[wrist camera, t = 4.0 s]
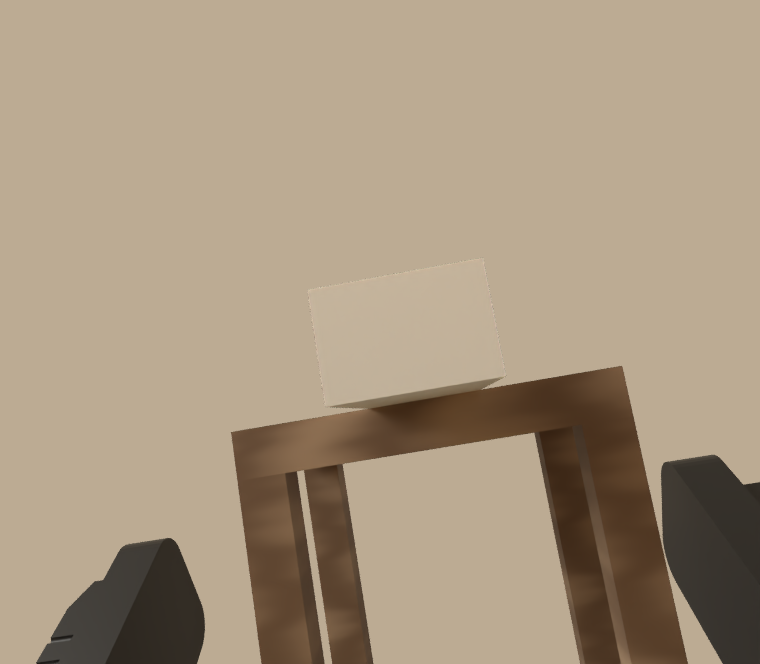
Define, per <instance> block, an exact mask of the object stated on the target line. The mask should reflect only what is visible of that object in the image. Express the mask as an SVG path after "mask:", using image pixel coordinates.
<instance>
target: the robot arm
mask: <svg viewBox="0 0 760 664" xmlns="http://www.w3.org/2000/svg"><path fill="white" fill-rule="evenodd" d="M661 486H662V524H663V525H662V526H663V544H664V549H665V554H666V558H667V561H668V564H669V567H670V570H671V572H672V575H673V576H674V579H675V581H676V583H677V584H678V586H679V588H680V590H681V591H682V593H683V595H684V597H685V598H686V600H687V602H688V604H689V605H690V607H691V609H692V611H693V612H694V614H695V616H696V618H697V619H698V621H699V623H700V625H701V626H702V628H703V630H704V632H705V633H706V635H707V637H708V639H709V640H710V642H711V644H712V646H713V647H714V649H715V651H716V652H717V654H718V656H719V658H720V659H721V661H722V663H723V664H760V482H759V483H752V484H746V485H743V484H742V483H741V482H740V480H739V479H738V478H737V477H736V476H735V475H734V474H733V472H732V471H731V470H730V469H729V468H728V467H727V466H726V464H725V463H724V462H723V461H722V460H721V459H720V458H719V457H718V456H716V455H708V456H702V457H695V458H689V459H683V460H677V461H670V462H665V463H664V464H663V466H662V470H661ZM204 632H205V620H204V613H203V608H202V604H201V602H200V599H199V597H198V594H197V592H196V589H195V587H194V584H193V582H192V579H191V577H190V574H189V572H188V569H187V567H186V564H185V562H184V559H183V557H182V554H181V552H180V549H179V547H178V545H177V544H176V542H175V541H174V540H173V539H171V538H166V539H159V540H153V541H147V542H140V543H134V544H128V545H125V546H123V547H122V548H121V549H120V551H119V552H118V554H117V556H116V558H115V560H114V561H113V563H112V565H111V567H110V569H109V571H108V573H107V575H106V576H105V578H104V580H102V581H95V582H94V583H93V584H92V585H91V586H90V587H89V588H88V589H87V590H86V591H85V592H84V593H83V594H82V595H81V596H80V597H79V598H78V599H77V600H76V601H75V602H74V603H73V604H72V605H71V606H70V607H69V608H68V609H67V611H66V613H65V614H64V616H63V618H62V619H61V621H60V623H59V625H58V626H57V628H56V630H55V631H54V633H53V635H52V637H51V643H50V644H47V645H46V647H45V649H44V650H43V652H42V654H41V656H40V657H39V659H38V661H37V662H36V663H37V664H197V662H198V658H199V655H200V652H201V649H202V645H203V640H204Z"/></svg>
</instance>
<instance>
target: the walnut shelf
mask: <svg viewBox="0 0 760 664" xmlns="http://www.w3.org/2000/svg"><path fill="white" fill-rule="evenodd" d="M528 433H535V437H536V443H537V447H538V453H539V457H540V463H541V468H542V473H543V478H544V483H545V488H546V493H547V498H548V503H549V508H550V513H551V518H552V523H553V529H554V533H555V539H556V544H557V548H558V553H559V559H560V564H561V568H562V574H563V579H564V584H565V589H566V594H567V599H568V604H569V609H570V614H571V619H572V624H573V629H574V635H575V639H576V645H577V649H578V655H579V660H580V664H688V662H687V658H686V653H685V648H684V644H683V639H682V635H681V630H680V626H679V621H678V617H677V612H676V608H675V603H674V599H673V594H672V589H671V585H670V580H669V576H668V571H667V567H666V562H665V559H664V553H663V549H662V545H661V540H660V535H659V531H658V526H657V522H656V517H655V512H654V508H653V503H652V499H651V494H650V490H649V485H648V481H647V477H646V472H645V467H644V463H643V458H642V454H641V449H640V444H639V440H638V435H637V431H636V426H635V422H634V417H633V413H632V408H631V404H630V399H629V395H628V390H627V386H626V382H625V376H624V372H623V368H622V366H618V367H613V368H607V369H601V370H595V371H590V372H583V373H577V374H571V375H565V376H559V377H553V378H548V379H542V380H536V381H530V382H524V383H518V384H512V385H506V386H501V387H495V388H489V389H483V390H477V391H471V392H465V393H459V394H453V395H447V396H441V397H435V398H430V399H424V400H418V401H412V402H406V403H400V404H394V405H388V406H382V407H377V408H371V409H365V410H359V411H353V412H347V413H341V414H335V415H330V416H323V417H318V418H312V419H306V420H300V421H294V422H288V423H282V424H277V425H270V426H264V427H259V428H253V429H247V430H241V431H235V432H231V434H232V441H233V449H234V457H235V465H236V472H237V480H238V488H239V495H240V503H241V510H242V518H243V526H244V533H245V541H246V548H247V556H248V564H249V571H250V579H251V587H252V594H253V601H254V609H255V617H256V624H257V632H258V640H259V647H260V655H261V663H262V664H324V657H323V650H322V643H321V636H320V629H319V622H318V615H317V609H316V601H315V595H314V588H313V581H312V574H311V567H310V560H309V553H308V546H307V539H306V532H305V525H304V519H303V512H302V505H301V498H300V491H299V484H298V477H297V471H301V470H304V473H305V480H306V487H307V493H308V499H309V507H310V514H311V521H312V528H313V534H314V542H315V548H316V554H317V561H318V569H319V575H320V583H321V589H322V596H323V603H324V610H325V617H326V624H327V631H328V637H329V644H330V650H331V658H332V664H373V658H372V652H371V646H370V639H369V633H368V627H367V620H366V613H365V607H364V600H363V594H362V587H361V582H360V575H359V568H358V562H357V555H356V548H355V542H354V535H353V529H352V523H351V516H350V511H349V504H348V497H347V490H346V485H345V478H344V471H343V464H344V463H350V462H356V461H362V460H369V459H375V458H381V457H387V456H393V455H399V454H406V453H412V452H417V451H424V450H429V449H436V448H442V447H448V446H455V445H461V444H466V443H473V442H479V441H485V440H491V439H497V438H503V437H510V436H515V435H521V434H528Z"/></svg>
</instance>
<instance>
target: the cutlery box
mask: <svg viewBox="0 0 760 664" xmlns="http://www.w3.org/2000/svg"><path fill="white" fill-rule="evenodd" d="M307 292H308V299H309V305H310V312H311V318H312V324H313V331H314V338H315V344H316V350H317V357H318V363H319V370H320V377H321V384H322V390H323V396H324V403H325V407H336V408H366V409H371V408H377V407H382V406H388V405H394V404H400V403H406V402H412V401H418V400H424V399H430V398H435V397H441V396H447V395H453V394H459V393H465V392H471V391H477V390H481V389H483V388H485V387H486V386H488V385H490V384H492V383H494V382H496V381H498V380H500V379H502V378H504V377H506V373H505V368H504V363H503V358H502V353H501V348H500V342H499V337H498V332H497V327H496V321H495V316H494V312H493V306H492V301H491V296H490V291H489V285H488V280H487V275H486V270H485V265H484V260H483V258H477V259H472V260H467V261H461V262H456V263H450V264H445V265H440V266H434V267H429V268H423V269H418V270H413V271H407V272H402V273H396V274H391V275H385V276H380V277H374V278H369V279H364V280H358V281H353V282H348V283H342V284H336V285H331V286H326V287H320V288H315V289H309V290H307Z"/></svg>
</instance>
